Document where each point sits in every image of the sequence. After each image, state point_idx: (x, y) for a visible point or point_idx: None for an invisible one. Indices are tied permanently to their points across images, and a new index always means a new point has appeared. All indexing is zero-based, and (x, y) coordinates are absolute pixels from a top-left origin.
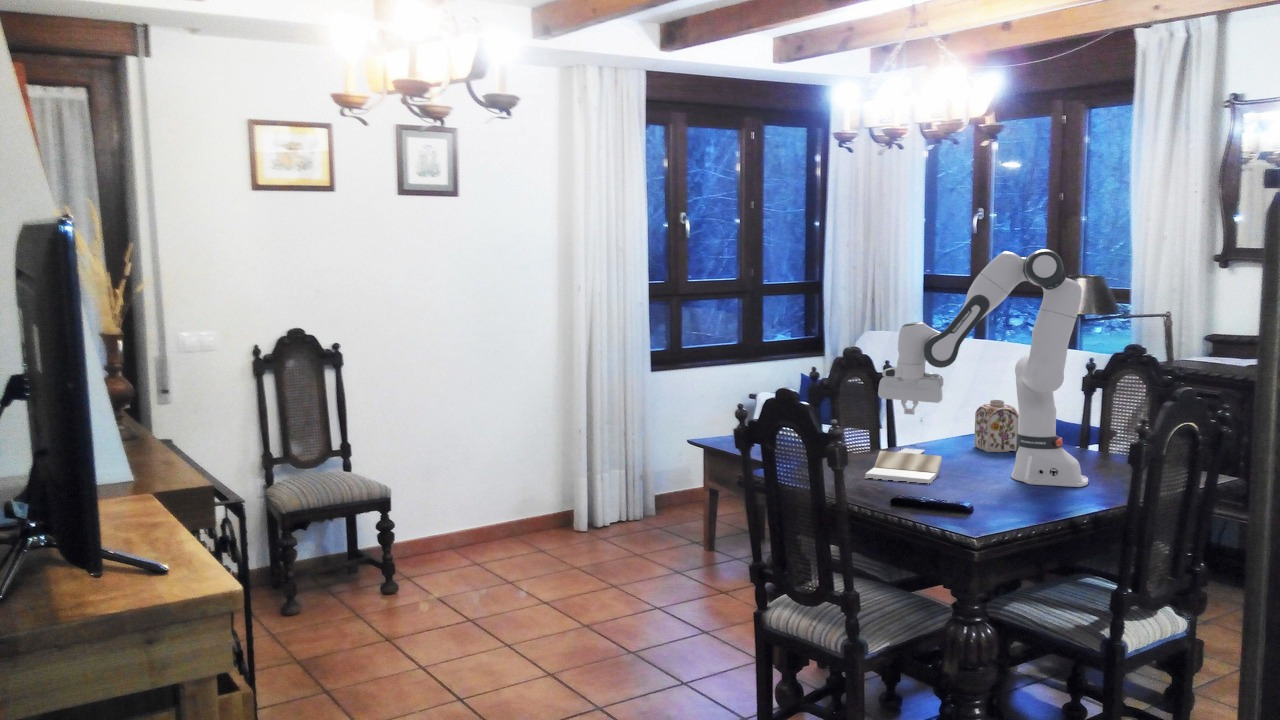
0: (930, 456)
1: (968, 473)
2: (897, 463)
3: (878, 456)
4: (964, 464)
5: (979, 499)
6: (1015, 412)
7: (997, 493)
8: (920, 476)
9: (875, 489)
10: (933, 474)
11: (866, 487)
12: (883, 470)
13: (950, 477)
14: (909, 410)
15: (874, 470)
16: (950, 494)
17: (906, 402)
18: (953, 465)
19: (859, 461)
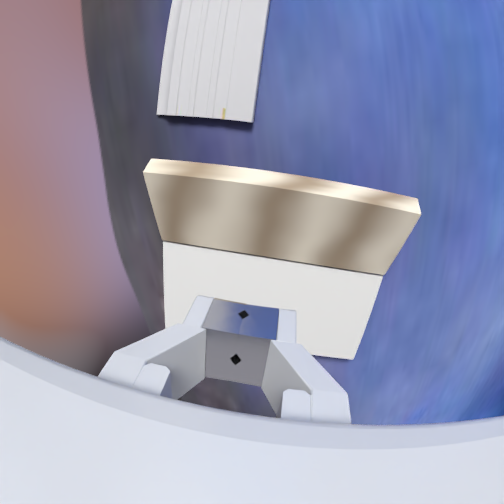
0: (375, 212)
1: (479, 165)
2: (238, 234)
3: (152, 199)
4: (459, 15)
5: (431, 422)
6: None
7: (482, 374)
8: (329, 333)
9: (225, 408)
10: (371, 298)
11: (202, 397)
12: (203, 280)
13: (423, 243)
14: (243, 372)
15: (177, 287)
16: (387, 411)
17: (170, 390)
18: (430, 33)
19: (93, 76)
